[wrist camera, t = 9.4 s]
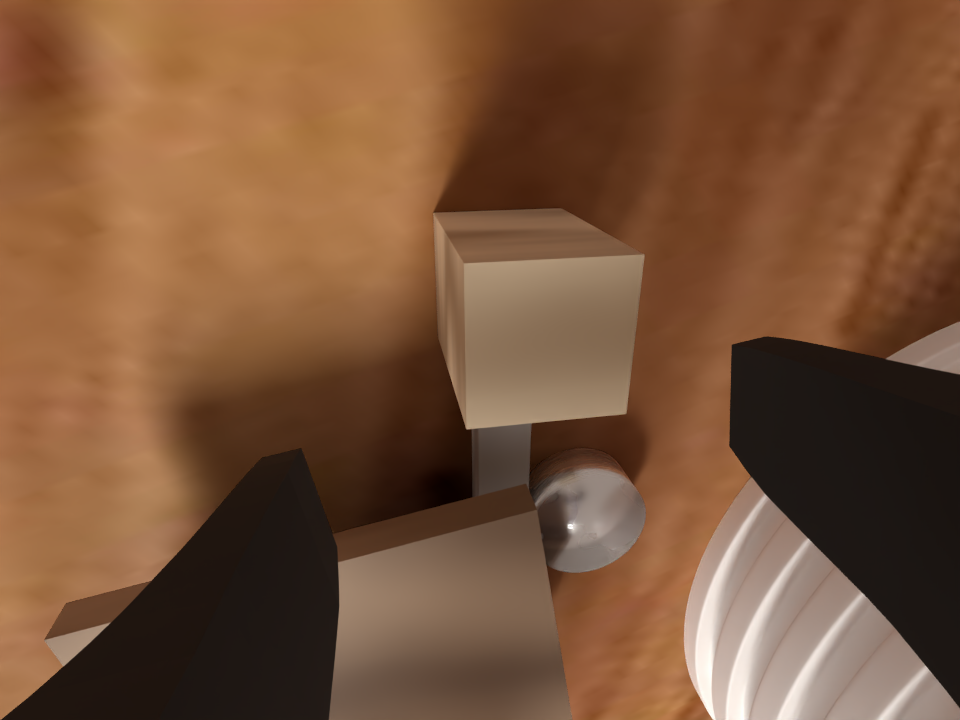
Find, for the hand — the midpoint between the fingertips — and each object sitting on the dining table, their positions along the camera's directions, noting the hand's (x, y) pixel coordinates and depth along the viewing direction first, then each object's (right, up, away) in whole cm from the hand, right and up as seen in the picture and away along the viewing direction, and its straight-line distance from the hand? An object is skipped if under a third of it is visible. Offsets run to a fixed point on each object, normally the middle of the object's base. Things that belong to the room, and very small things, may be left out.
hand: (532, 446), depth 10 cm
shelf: (-6, -7, +13) cm, 16 cm away
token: (+3, -4, +13) cm, 14 cm away
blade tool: (0, 0, +11) cm, 11 cm away
